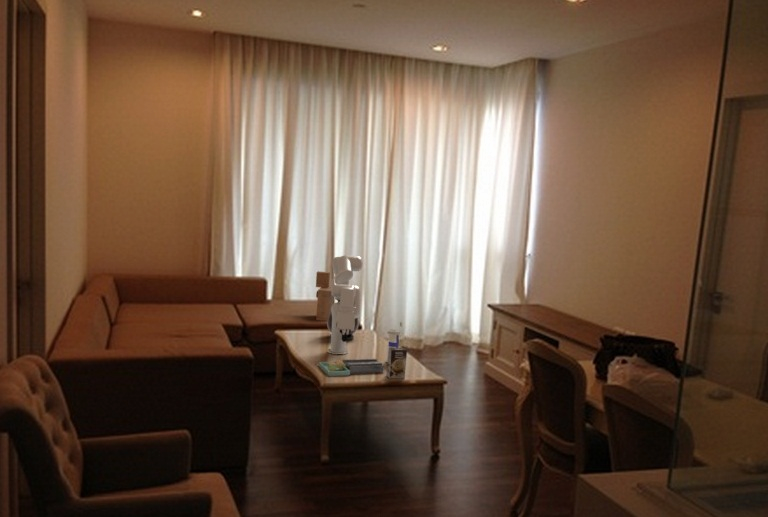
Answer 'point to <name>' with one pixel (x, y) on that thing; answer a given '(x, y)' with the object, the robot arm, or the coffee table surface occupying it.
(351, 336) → the amphora vase
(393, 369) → the coffee box
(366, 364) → the grey flat channelled block
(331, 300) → the tan blocky figurine
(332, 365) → the tan wooden cube
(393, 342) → the water bottle
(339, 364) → the tan wooden block
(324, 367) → the tray
